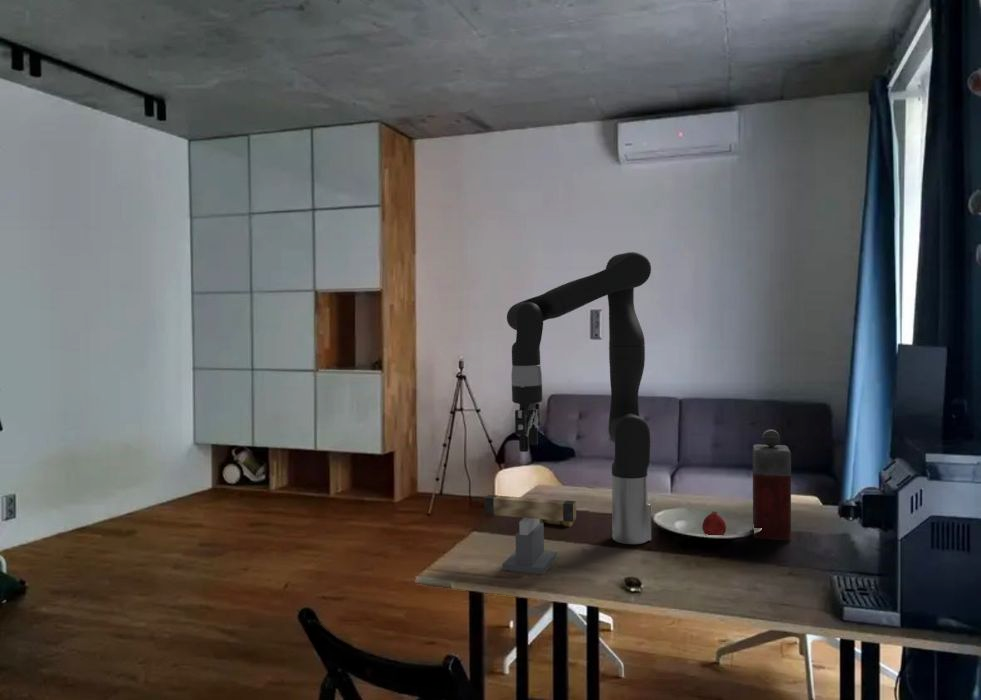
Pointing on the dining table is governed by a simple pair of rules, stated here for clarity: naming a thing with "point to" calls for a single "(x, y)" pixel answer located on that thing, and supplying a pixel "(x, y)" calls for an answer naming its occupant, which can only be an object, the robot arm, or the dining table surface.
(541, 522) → the gavel
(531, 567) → the stand
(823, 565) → the dining table surface
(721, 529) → the onion
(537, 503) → the oak beam
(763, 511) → the red liquor decanter
